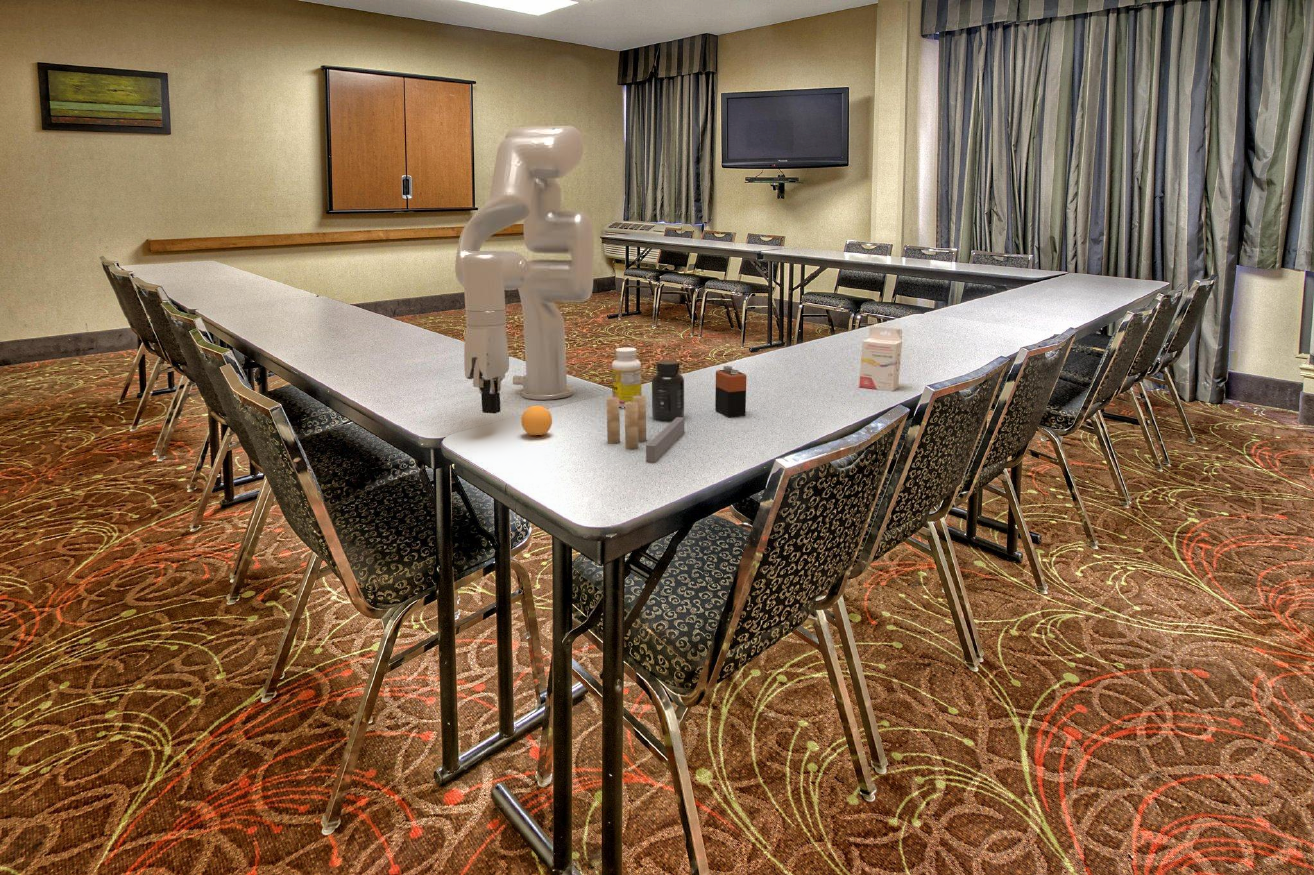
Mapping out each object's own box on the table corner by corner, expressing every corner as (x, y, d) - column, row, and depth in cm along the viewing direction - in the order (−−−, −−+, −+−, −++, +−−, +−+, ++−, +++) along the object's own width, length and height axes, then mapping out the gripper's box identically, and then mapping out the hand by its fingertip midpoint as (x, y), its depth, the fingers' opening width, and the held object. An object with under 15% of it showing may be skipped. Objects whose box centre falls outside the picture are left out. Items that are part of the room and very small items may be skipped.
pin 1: (623, 448, 145) (622, 404, 143) (627, 445, 148) (627, 401, 145) (635, 449, 145) (635, 405, 142) (640, 446, 147) (639, 402, 145)
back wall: (646, 461, 138) (646, 445, 137) (676, 431, 156) (676, 417, 155) (654, 462, 137) (654, 446, 137) (684, 432, 156) (684, 417, 155)
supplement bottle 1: (612, 402, 180) (610, 346, 177) (640, 401, 181) (640, 346, 177) (612, 409, 174) (611, 352, 170) (642, 408, 174) (641, 351, 171)
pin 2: (632, 441, 150) (631, 398, 148) (636, 437, 152) (635, 395, 150) (644, 442, 149) (643, 398, 147) (648, 438, 152) (647, 396, 149)
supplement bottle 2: (645, 418, 166) (645, 363, 162) (663, 412, 171) (663, 357, 168) (672, 423, 162) (672, 366, 159) (690, 416, 168) (690, 361, 164)
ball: (516, 438, 152) (515, 408, 151) (530, 430, 158) (528, 401, 156) (545, 440, 151) (543, 410, 149) (557, 432, 156) (556, 403, 154)
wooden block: (605, 443, 149) (604, 399, 147) (610, 439, 151) (609, 396, 149) (617, 444, 148) (616, 400, 146) (621, 440, 151) (620, 397, 148)
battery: (732, 409, 174) (733, 364, 171) (746, 416, 167) (747, 370, 165) (714, 410, 172) (714, 366, 169) (728, 418, 166) (729, 372, 163)
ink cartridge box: (858, 387, 193) (862, 328, 188) (864, 384, 197) (868, 325, 193) (892, 391, 188) (897, 330, 184) (898, 387, 192) (903, 328, 188)
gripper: (487, 314, 158) (492, 403, 163) (447, 323, 145) (454, 419, 149) (521, 315, 156) (525, 405, 161) (484, 324, 142) (490, 422, 147)
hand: (491, 412), depth 155 cm, fingers closed
